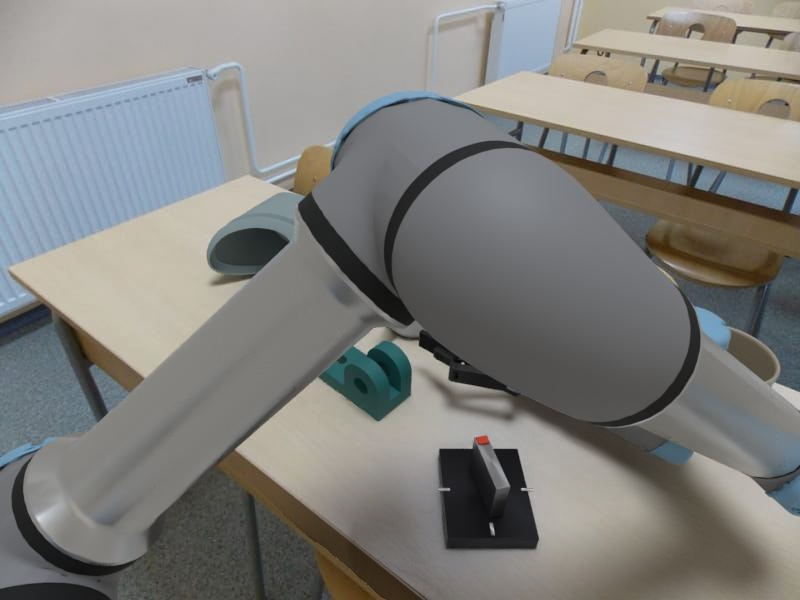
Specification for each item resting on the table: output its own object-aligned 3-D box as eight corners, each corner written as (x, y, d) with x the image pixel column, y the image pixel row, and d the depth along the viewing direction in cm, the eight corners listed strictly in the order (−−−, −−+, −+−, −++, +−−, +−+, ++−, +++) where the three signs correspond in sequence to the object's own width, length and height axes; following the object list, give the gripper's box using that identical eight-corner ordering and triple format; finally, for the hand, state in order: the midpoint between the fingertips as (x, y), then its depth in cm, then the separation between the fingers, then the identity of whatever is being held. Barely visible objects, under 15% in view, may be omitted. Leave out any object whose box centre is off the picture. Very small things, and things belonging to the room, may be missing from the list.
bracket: (410, 395, 76) (412, 355, 71) (378, 421, 71) (378, 380, 67) (328, 340, 85) (325, 301, 81) (295, 360, 81) (290, 320, 76)
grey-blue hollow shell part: (363, 269, 103) (361, 210, 95) (306, 321, 89) (299, 257, 81) (274, 241, 111) (266, 185, 103) (210, 285, 97) (195, 224, 89)
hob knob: (503, 515, 58) (510, 484, 55) (489, 518, 58) (496, 487, 55) (481, 464, 64) (487, 433, 60) (469, 466, 63) (474, 435, 60)
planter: (754, 404, 76) (788, 348, 69) (733, 457, 68) (770, 400, 61) (667, 365, 82) (691, 311, 76) (639, 410, 74) (663, 353, 68)
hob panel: (541, 548, 57) (545, 538, 56) (440, 549, 57) (442, 538, 56) (519, 458, 67) (522, 447, 66) (433, 458, 67) (434, 447, 65)
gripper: (526, 457, 64) (394, 376, 74) (606, 355, 79) (488, 300, 90) (536, 416, 59) (395, 336, 70) (619, 316, 75) (493, 264, 86)
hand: (447, 316), depth 80 cm, fingers open, 13 cm apart
